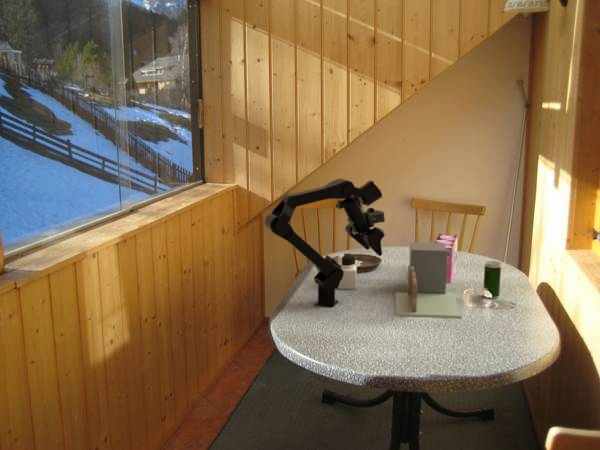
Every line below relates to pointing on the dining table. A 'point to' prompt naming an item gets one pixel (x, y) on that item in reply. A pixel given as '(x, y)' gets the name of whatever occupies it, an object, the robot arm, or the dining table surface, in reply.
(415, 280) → the brown wooden flat panel
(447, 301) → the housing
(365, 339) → the dining table surface
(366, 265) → the plant saucer
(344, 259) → the medicine bottle
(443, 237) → the gum box
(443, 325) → the dining table surface
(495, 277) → the beer can
